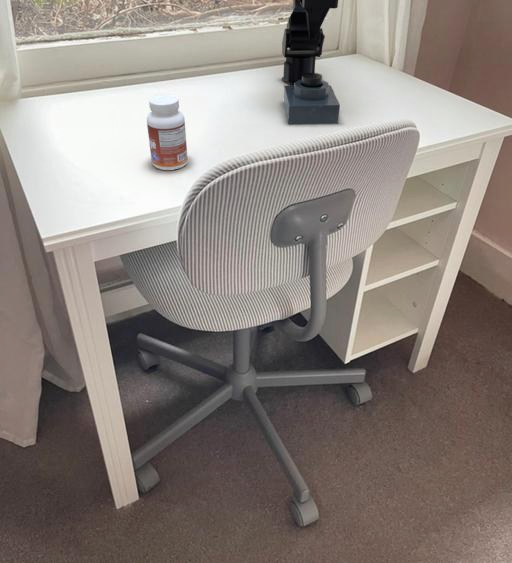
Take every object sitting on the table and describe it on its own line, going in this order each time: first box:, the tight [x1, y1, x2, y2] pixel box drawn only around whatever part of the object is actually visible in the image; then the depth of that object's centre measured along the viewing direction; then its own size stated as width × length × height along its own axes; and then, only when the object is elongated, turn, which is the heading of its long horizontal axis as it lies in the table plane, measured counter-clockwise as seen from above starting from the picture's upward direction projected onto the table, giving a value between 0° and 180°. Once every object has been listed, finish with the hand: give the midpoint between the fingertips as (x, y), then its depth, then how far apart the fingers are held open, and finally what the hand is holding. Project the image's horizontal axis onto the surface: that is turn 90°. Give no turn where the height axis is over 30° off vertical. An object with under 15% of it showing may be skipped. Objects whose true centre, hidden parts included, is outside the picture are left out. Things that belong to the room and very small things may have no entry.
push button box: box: [283, 79, 341, 125], centre depth 110 cm, size 12×10×6 cm
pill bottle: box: [146, 94, 188, 171], centre depth 89 cm, size 6×6×11 cm
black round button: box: [302, 72, 323, 88], centre depth 108 cm, size 4×4×2 cm
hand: (312, 38), depth 109 cm, fingers closed
